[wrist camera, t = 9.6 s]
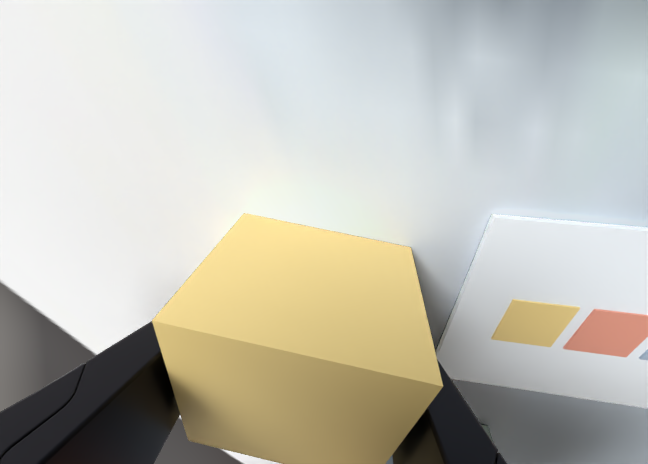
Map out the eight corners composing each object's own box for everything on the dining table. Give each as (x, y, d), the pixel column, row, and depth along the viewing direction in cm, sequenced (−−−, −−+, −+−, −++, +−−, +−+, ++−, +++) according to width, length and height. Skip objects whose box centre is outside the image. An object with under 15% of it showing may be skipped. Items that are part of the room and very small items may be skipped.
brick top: (410, 247, 8) (443, 386, 4) (369, 349, 10) (369, 485, 7) (244, 213, 8) (152, 320, 5) (245, 322, 11) (188, 440, 7)
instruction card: (921, 251, 6) (942, 258, 6) (686, 409, 10) (693, 417, 9) (492, 214, 7) (495, 219, 7) (428, 370, 11) (429, 377, 10)
